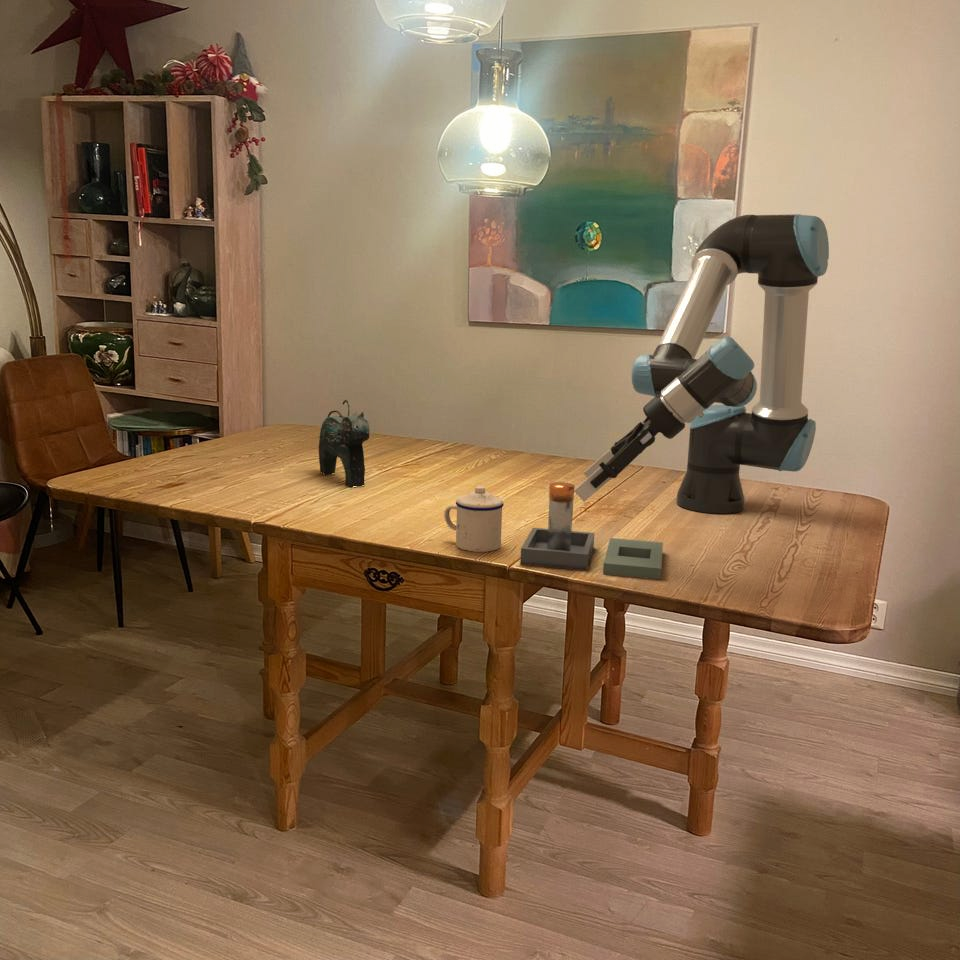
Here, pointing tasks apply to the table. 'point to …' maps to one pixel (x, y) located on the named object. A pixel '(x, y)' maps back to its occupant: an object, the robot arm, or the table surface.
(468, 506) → the teacup with lid
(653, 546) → the green holder base
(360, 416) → the ceramic cat
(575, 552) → the tray
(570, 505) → the pepper shaker
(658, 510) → the table surface
